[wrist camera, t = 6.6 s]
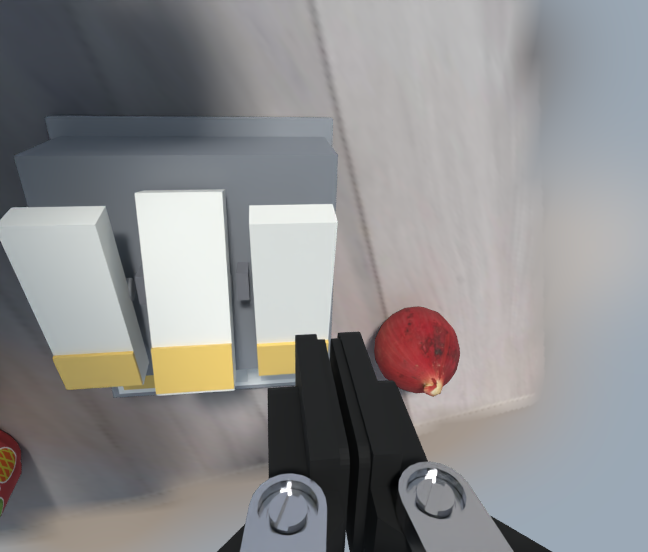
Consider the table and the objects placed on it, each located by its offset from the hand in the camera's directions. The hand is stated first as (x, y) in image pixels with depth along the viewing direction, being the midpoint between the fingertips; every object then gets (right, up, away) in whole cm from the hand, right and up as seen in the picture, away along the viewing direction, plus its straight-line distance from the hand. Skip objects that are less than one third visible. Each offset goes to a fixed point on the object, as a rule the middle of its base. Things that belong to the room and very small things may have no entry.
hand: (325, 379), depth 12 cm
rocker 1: (-12, +2, +11) cm, 16 cm away
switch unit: (-8, +3, +19) cm, 21 cm away
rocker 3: (-2, +2, +12) cm, 12 cm away
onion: (+6, -1, +23) cm, 24 cm away
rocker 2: (-7, +2, +11) cm, 14 cm away
